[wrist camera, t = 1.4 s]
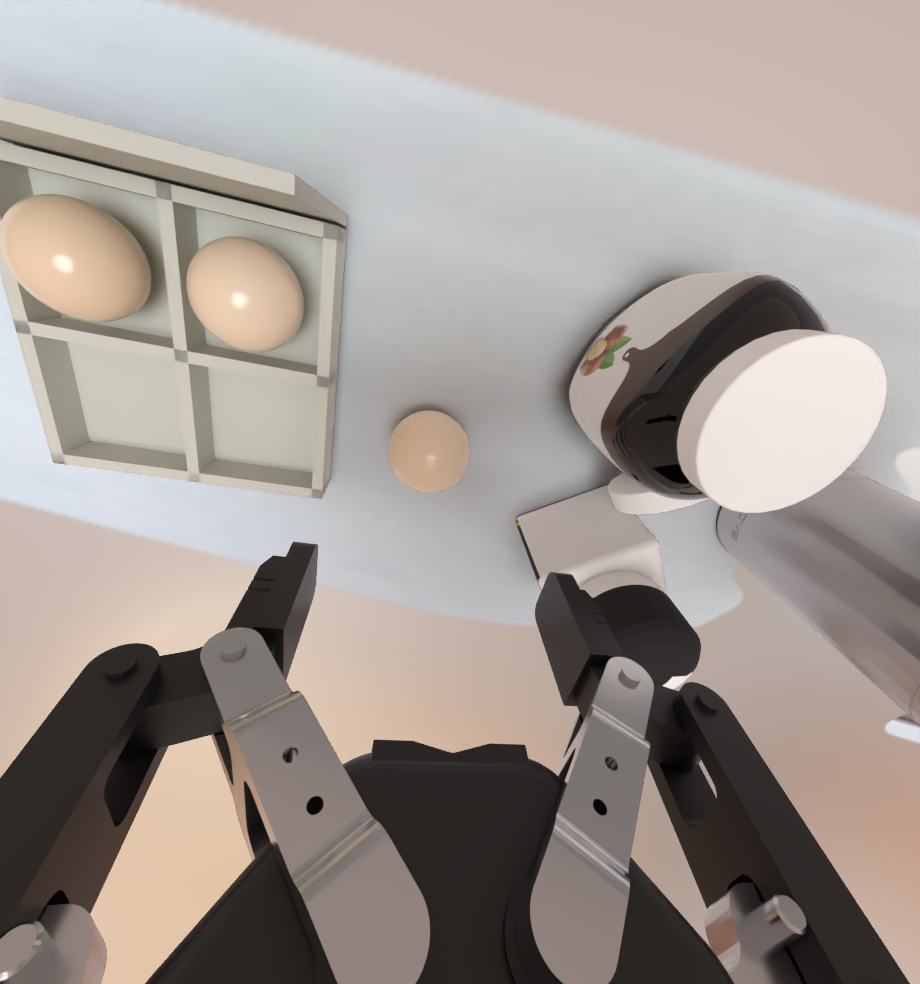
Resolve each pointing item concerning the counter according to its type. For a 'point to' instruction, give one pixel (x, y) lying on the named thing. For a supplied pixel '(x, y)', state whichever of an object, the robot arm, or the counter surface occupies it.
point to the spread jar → (725, 396)
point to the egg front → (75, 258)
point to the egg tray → (178, 313)
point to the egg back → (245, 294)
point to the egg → (429, 451)
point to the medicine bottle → (615, 578)
